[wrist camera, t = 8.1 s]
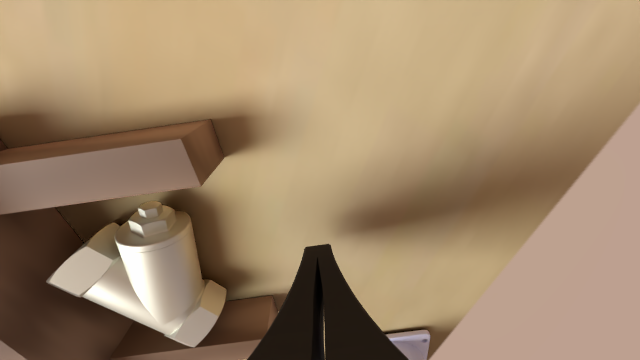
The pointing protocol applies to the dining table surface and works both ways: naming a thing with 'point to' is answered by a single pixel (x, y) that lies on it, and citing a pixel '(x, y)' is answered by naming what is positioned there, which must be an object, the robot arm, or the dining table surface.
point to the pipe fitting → (147, 274)
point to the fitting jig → (61, 242)
